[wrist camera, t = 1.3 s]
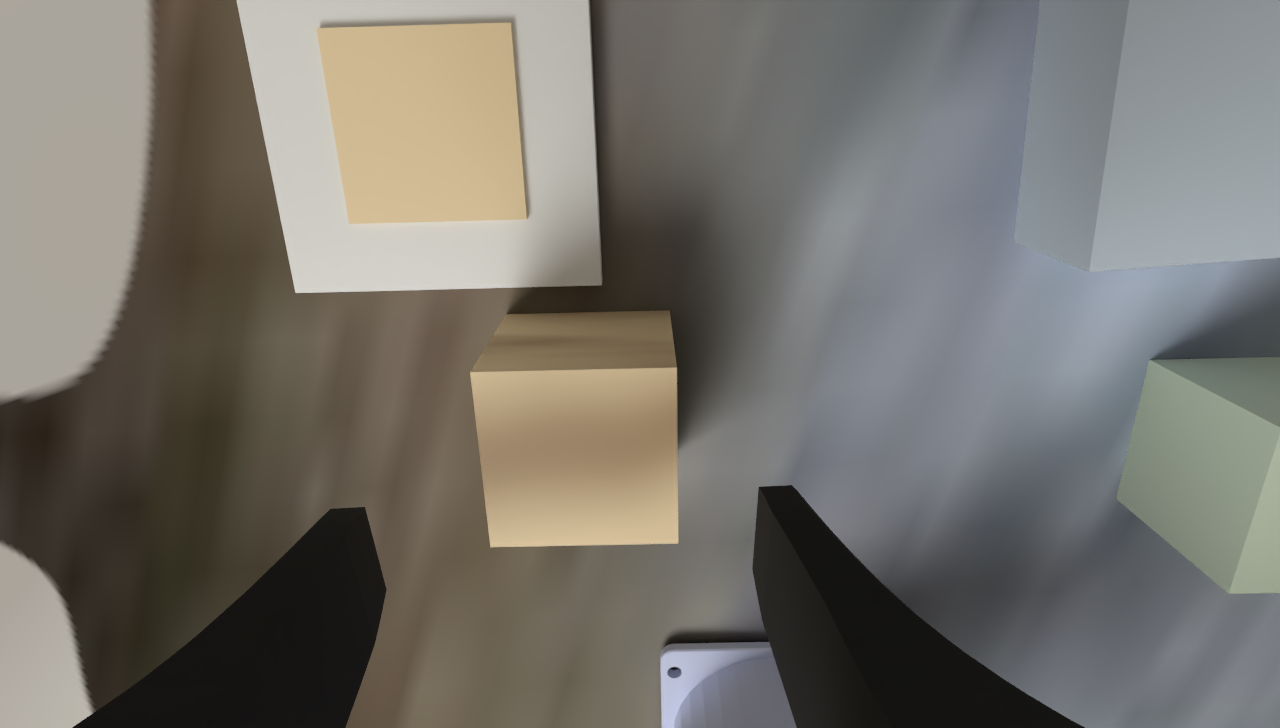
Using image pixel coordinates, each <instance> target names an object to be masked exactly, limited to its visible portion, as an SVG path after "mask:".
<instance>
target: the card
mask: <svg viewBox="0 0 1280 728" xmlns="http://www.w3.org/2000/svg"><path fill="white" fill-rule="evenodd" d="M237 5H238V10H239V15H240V20H241V25H242V30H243V35H244V40H245V45H246V50H247V55H248V59H249V64H250V69H251V74H252V79H253V84H254V89H255V94H256V99H257V104H258V109H259V114H260V119H261V124H262V129H263V134H264V139H265V144H266V149H267V154H268V159H269V164H270V169H271V174H272V178H273V183H274V188H275V193H276V198H277V203H278V208H279V213H280V218H281V223H282V228H283V233H284V238H285V243H286V248H287V253H288V258H289V263H290V268H291V273H292V278H293V283H294V288H295V293H315V292H355V291H395V290H436V289H476V288H516V287H556V286H596V285H602V281H603V277H602V255H601V233H600V211H599V189H598V167H597V145H596V123H595V101H594V79H593V57H592V35H591V13H590V0H237Z"/></svg>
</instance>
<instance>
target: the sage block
mask: <svg viewBox="0 0 1280 728" xmlns="http://www.w3.org/2000/svg"><path fill="white" fill-rule="evenodd" d="M1116 499H1117V500H1118V501H1119V502H1121V503H1122V504H1123V505H1124V506H1125V507H1126V508H1128V509H1129V510H1130V511H1131V512H1132V513H1134V514H1135V515H1136V516H1137V517H1138V518H1139V519H1141V520H1142V521H1143V522H1144V523H1145V524H1147V525H1148V526H1149V527H1150V528H1151V529H1152V530H1154V531H1155V532H1156V533H1157V534H1158V535H1160V536H1161V537H1162V538H1163V539H1164V540H1165V541H1167V542H1168V543H1169V544H1170V545H1171V546H1173V547H1174V548H1175V549H1176V550H1177V551H1178V552H1180V553H1181V554H1182V555H1183V556H1184V557H1186V558H1187V559H1188V560H1189V561H1190V562H1191V563H1193V564H1194V565H1195V566H1196V567H1197V568H1199V569H1200V570H1201V571H1202V572H1203V573H1204V574H1206V575H1207V576H1208V577H1209V578H1210V579H1212V580H1213V581H1214V582H1215V583H1216V584H1217V585H1219V586H1220V587H1221V588H1222V589H1223V590H1225V591H1226V592H1227V593H1228V594H1249V593H1280V357H1256V358H1211V359H1167V360H1149V364H1148V368H1147V372H1146V376H1145V381H1144V385H1143V389H1142V393H1141V397H1140V401H1139V405H1138V410H1137V414H1136V418H1135V422H1134V426H1133V430H1132V435H1131V439H1130V443H1129V447H1128V451H1127V455H1126V459H1125V464H1124V468H1123V472H1122V476H1121V480H1120V484H1119V488H1118V493H1117V497H1116Z"/></svg>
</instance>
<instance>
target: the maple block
mask: <svg viewBox="0 0 1280 728" xmlns="http://www.w3.org/2000/svg"><path fill="white" fill-rule="evenodd" d="M470 374H471V383H472V391H473V400H474V409H475V417H476V426H477V435H478V443H479V452H480V460H481V469H482V478H483V486H484V495H485V504H486V512H487V521H488V529H489V538H490V547H523V546H574V545H626V544H677V543H678V438H677V364H676V356H675V348H674V340H673V333H672V325H671V317H670V310H665V311H622V312H580V313H537V314H506V316H505V317H504V319H503V321H502V322H501V324H500V325H499V327H498V329H497V330H496V332H495V333H494V335H493V337H492V338H491V340H490V341H489V343H488V345H487V346H486V348H485V349H484V351H483V353H482V354H481V356H480V357H479V359H478V361H477V362H476V364H475V365H474V367H473V369H472V370H471V372H470Z"/></svg>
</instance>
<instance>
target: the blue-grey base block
mask: <svg viewBox="0 0 1280 728" xmlns="http://www.w3.org/2000/svg"><path fill="white" fill-rule="evenodd" d="M1014 242H1015V243H1018V244H1020V245H1023V246H1025V247H1028V248H1030V249H1033V250H1035V251H1038V252H1040V253H1043V254H1045V255H1048V256H1050V257H1053V258H1055V259H1058V260H1060V261H1063V262H1065V263H1068V264H1070V265H1073V266H1075V267H1078V268H1080V269H1083V270H1085V271H1088V272H1096V271H1109V270H1123V269H1136V268H1149V267H1163V266H1176V265H1189V264H1202V263H1216V262H1229V261H1242V260H1256V259H1269V258H1280V0H1040V4H1039V13H1038V23H1037V32H1036V41H1035V51H1034V60H1033V69H1032V79H1031V88H1030V97H1029V107H1028V116H1027V126H1026V135H1025V144H1024V154H1023V163H1022V172H1021V182H1020V191H1019V201H1018V210H1017V219H1016V229H1015V238H1014Z"/></svg>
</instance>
